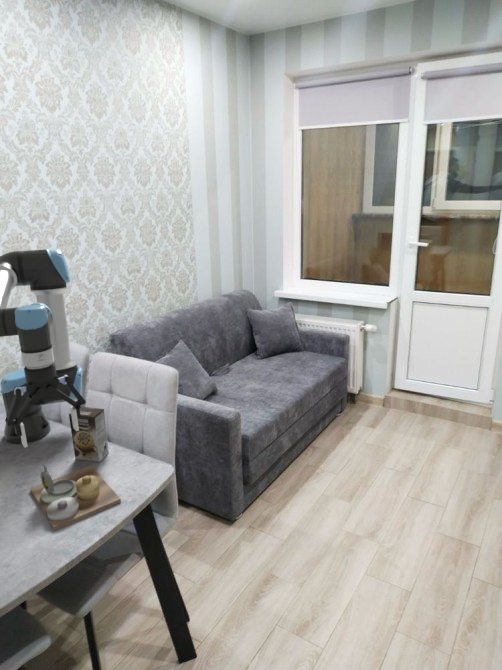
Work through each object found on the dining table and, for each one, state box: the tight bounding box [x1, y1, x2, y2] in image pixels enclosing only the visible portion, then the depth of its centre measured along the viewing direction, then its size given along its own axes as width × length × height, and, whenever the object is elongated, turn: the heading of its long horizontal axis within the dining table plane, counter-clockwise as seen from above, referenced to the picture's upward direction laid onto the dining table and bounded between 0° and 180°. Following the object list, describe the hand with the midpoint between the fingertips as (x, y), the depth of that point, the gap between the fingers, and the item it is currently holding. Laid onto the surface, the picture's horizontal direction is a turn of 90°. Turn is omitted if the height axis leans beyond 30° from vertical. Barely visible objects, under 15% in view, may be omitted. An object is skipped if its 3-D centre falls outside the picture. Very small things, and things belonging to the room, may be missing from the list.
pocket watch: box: [40, 463, 74, 495], centre depth 133 cm, size 8×8×10 cm
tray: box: [30, 465, 122, 531], centre depth 134 cm, size 22×18×6 cm
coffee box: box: [68, 406, 110, 463], centre depth 153 cm, size 9×6×16 cm
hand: (51, 437), depth 130 cm, fingers open, 13 cm apart
